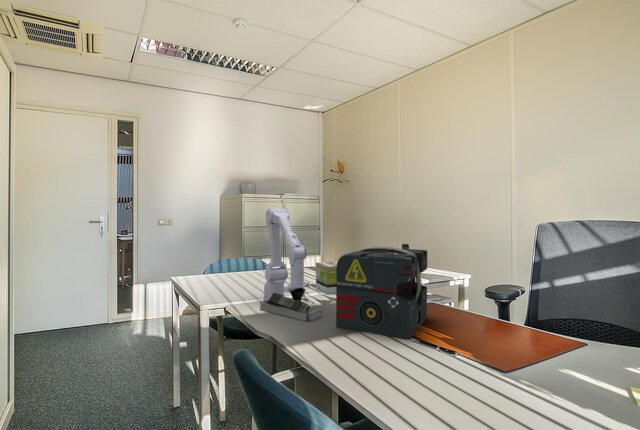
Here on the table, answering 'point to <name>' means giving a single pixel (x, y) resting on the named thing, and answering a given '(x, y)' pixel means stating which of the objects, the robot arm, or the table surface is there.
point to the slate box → (290, 312)
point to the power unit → (381, 291)
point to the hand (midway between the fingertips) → (297, 305)
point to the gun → (288, 303)
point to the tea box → (326, 277)
